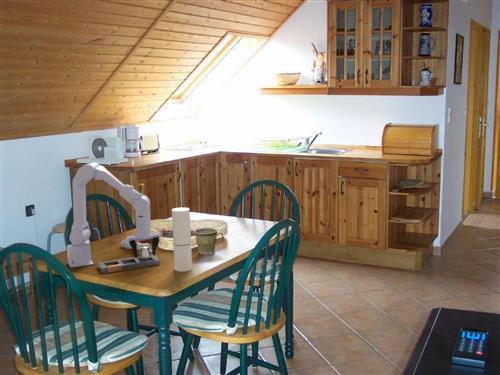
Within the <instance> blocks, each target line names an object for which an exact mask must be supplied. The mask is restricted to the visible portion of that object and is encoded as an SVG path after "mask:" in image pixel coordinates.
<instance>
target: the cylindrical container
mask: <svg viewBox="0 0 500 375" xmlns="http://www.w3.org/2000/svg"><path fill="white" fill-rule="evenodd" d="M171 221H172V223H171V224H172V241H173V242H172V244H173V263H174V271H176V272H181V273H182V272H183V273H184V272H188V271H191V270H192V269H193V259H192V256H193V255H192V236H191V233H192V232H191V214H190V208H189V207H174V208H172V209H171Z"/></svg>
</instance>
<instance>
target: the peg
mask: <svg viewBox="0 0 500 375" xmlns="http://www.w3.org/2000/svg"><path fill="white" fill-rule="evenodd" d="M139 257H140V262H141V261H148V260H150V253H149V247H148V246H143V247H140V250H139Z"/></svg>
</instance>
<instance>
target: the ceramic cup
mask: <svg viewBox="0 0 500 375" xmlns="http://www.w3.org/2000/svg"><path fill="white" fill-rule="evenodd" d="M194 235H195V236H194V237H195V241H196V244H197V248H198V253H199V254H201V255H212V254H214V253H215V251H216V250H215V249H216V245H217V244H218V243H219V242H220V241H222V240H223V238H224V234H223V233H222V232H218V229H216V228H212V227H203V228H199V229H198V228H197V229H195V230H194ZM219 235H221V238H219V240H217V237H218V236H219Z"/></svg>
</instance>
